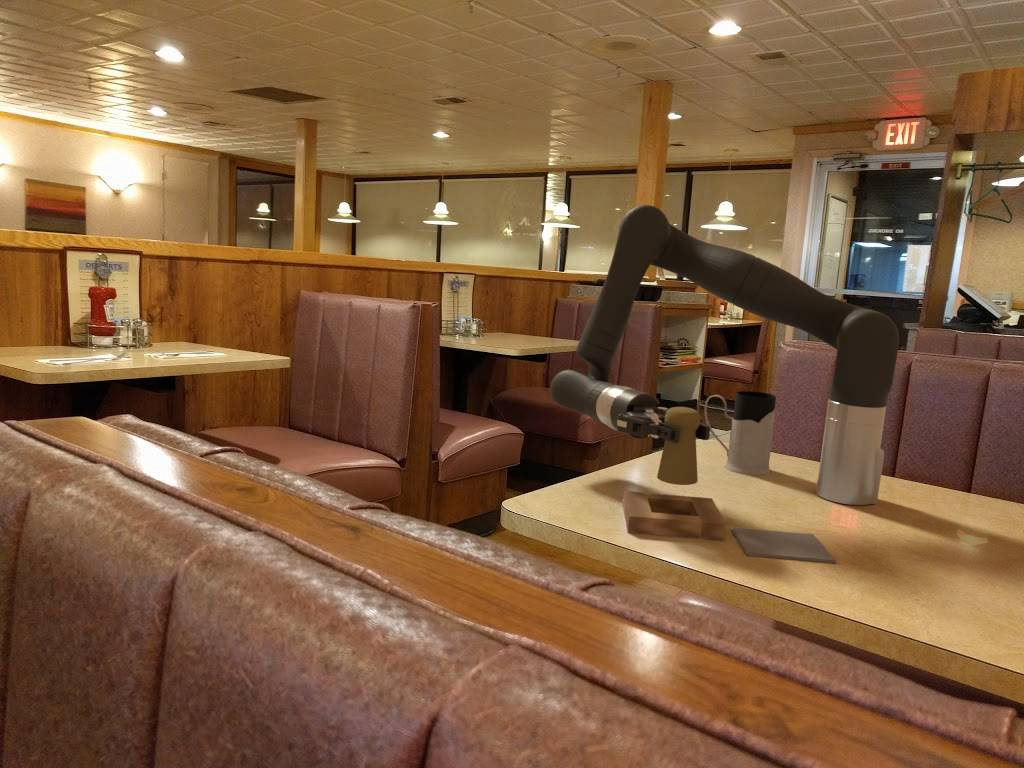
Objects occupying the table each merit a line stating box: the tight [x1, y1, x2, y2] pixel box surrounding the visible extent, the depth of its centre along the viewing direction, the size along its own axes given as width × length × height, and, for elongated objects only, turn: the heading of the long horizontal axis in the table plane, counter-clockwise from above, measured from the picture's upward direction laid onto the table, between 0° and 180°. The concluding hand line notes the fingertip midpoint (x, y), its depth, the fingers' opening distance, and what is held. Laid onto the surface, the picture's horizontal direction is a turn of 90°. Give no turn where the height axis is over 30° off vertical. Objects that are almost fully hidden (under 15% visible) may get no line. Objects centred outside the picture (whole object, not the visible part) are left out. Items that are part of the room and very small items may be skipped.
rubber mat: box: [731, 526, 837, 564], centre depth 109 cm, size 12×10×1 cm
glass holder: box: [704, 390, 777, 476], centre depth 150 cm, size 9×14×15 cm, turn 57°
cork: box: [656, 406, 701, 486], centre depth 114 cm, size 6×6×11 cm
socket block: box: [622, 490, 727, 542], centre depth 116 cm, size 14×12×2 cm
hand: (692, 434), depth 111 cm, fingers closed on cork, 5 cm apart
